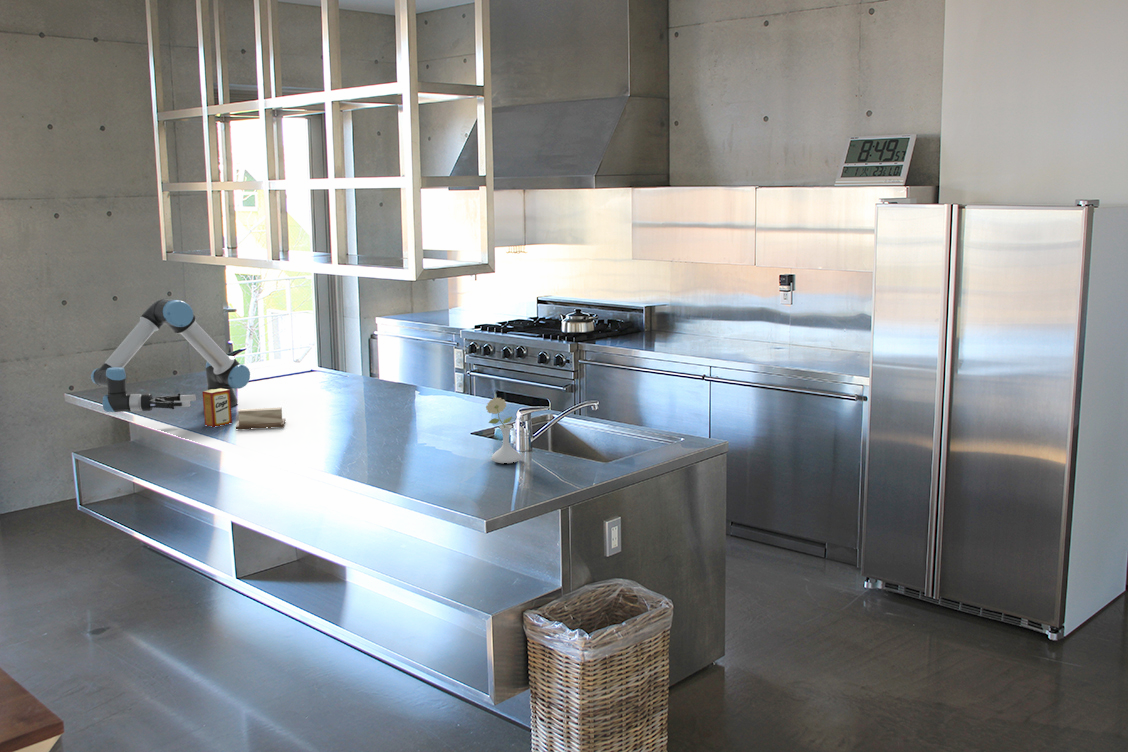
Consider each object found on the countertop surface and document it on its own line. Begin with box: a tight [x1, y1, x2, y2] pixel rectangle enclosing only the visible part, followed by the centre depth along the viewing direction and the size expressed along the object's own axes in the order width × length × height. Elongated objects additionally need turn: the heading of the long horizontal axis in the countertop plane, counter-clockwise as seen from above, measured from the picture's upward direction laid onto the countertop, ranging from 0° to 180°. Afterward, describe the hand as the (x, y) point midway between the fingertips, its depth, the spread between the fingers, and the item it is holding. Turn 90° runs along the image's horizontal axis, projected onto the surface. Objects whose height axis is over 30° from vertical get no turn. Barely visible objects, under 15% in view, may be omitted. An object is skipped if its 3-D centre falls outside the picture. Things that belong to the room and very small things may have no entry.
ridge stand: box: [235, 407, 286, 430], centre depth 418 cm, size 12×20×8 cm, turn 102°
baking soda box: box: [202, 388, 233, 428], centre depth 420 cm, size 10×6×16 cm
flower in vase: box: [485, 397, 522, 464], centre depth 354 cm, size 13×11×25 cm
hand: (193, 400), depth 417 cm, fingers open, 13 cm apart
